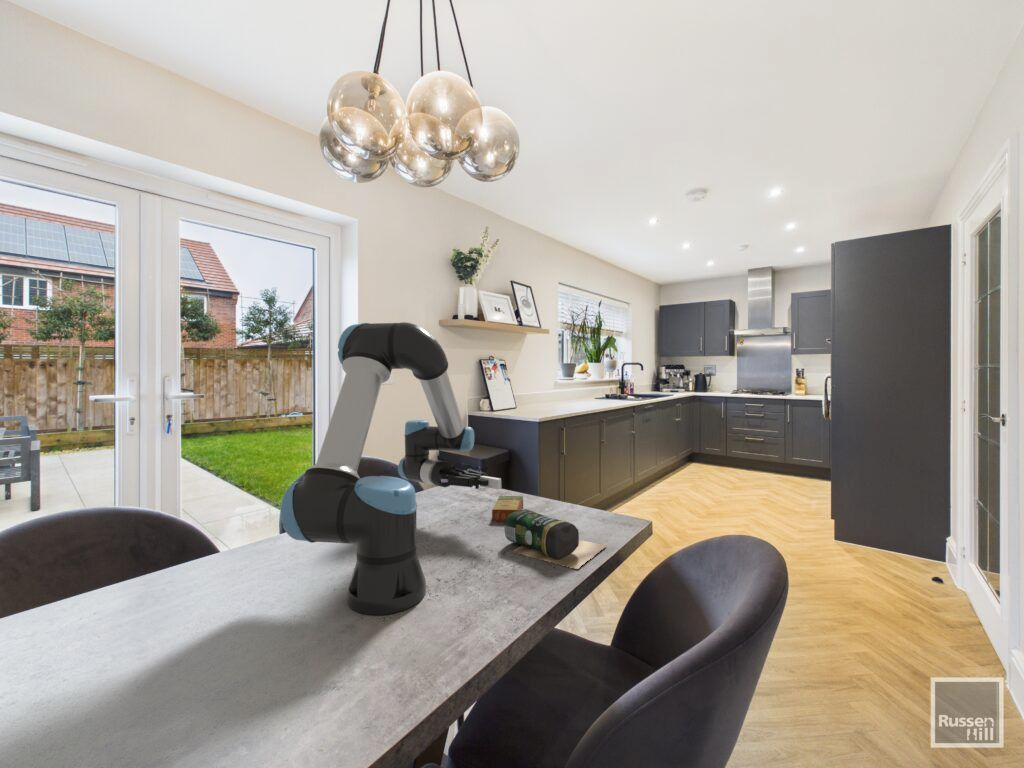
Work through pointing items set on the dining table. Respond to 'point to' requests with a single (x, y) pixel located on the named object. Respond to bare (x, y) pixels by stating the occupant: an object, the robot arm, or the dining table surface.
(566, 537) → the coffee jar
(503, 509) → the carton
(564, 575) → the dining table surface
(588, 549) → the mat
